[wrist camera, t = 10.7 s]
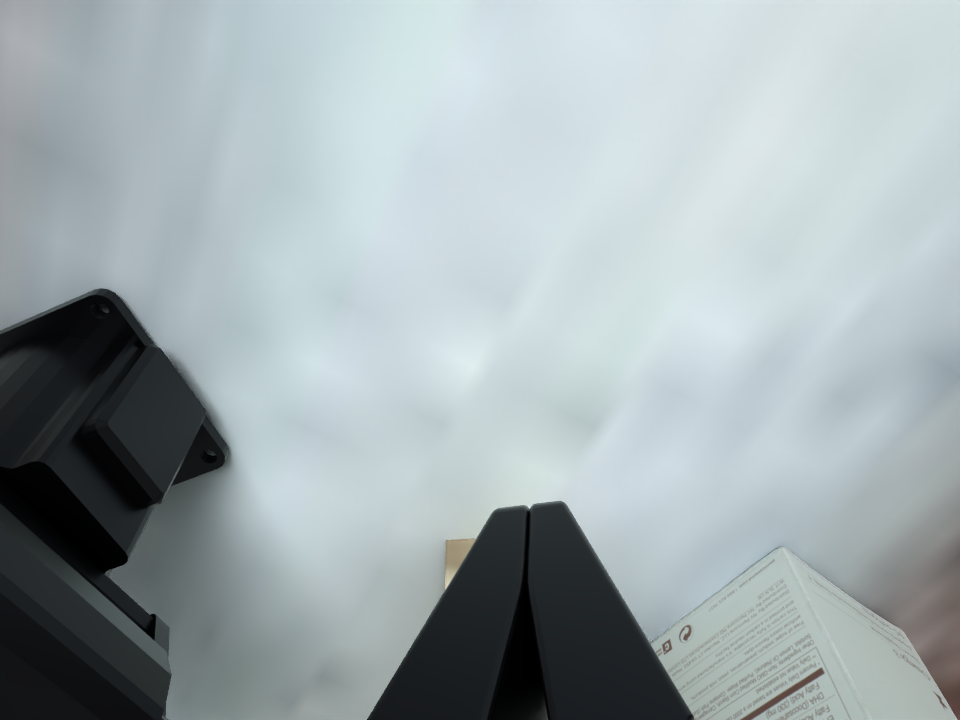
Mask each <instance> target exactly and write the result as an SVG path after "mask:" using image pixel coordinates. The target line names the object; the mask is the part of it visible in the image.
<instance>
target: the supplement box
mask: <svg viewBox="0 0 960 720" xmlns="http://www.w3.org/2000/svg"><path fill="white" fill-rule="evenodd" d="M651 646H652V648H653V649H654V651H655V653H656V654H657V656H658V658H659V659H660V661H661V663H662V664H663V666H664V668H665V669H666V671H667V673H668V674H669V676H670V678H671V679H672V681H673V683H674V684H675V686H676V688H677V689H678V691H679V693H680V694H681V696H682V698H683V699H684V701H685V703H686V704H687V706H688V708H689V709H690V711H691V713H692V714H693V716H694V720H957V718H956V717H955V715H954V713H953V712H952V710H951V708H950V707H949V705H948V703H947V701H946V700H945V698H944V696H943V695H942V693H941V692H940V690H939V688H938V686H937V685H936V683H935V682H934V680H933V678H932V677H931V675H930V673H929V672H928V670H927V668H926V667H925V665H924V663H923V662H922V660H921V659H920V657H919V655H918V654H917V652H916V651H915V649H914V647H913V646H912V644H911V642H910V641H909V639H908V638H907V636H906V634H905V633H904V632H903V631H902V630H901V629H899V628H897V627H896V626H894V625H893V624H891V623H889V622H888V621H886V620H884V619H883V618H881V617H880V616H878V615H877V614H875V613H873V612H872V611H871V610H869V609H868V608H866V607H865V606H863V605H862V604H860V603H859V602H857V601H856V600H854V599H853V598H852V597H850V596H849V595H847V594H846V593H845V592H843V591H842V590H840V589H839V588H838V587H836V586H835V585H834V584H832V583H831V582H830V581H828V580H827V579H825V578H824V577H823V576H821V575H820V574H819V573H817V572H816V571H815V570H813V569H812V568H811V567H809V566H808V565H807V564H805V563H804V562H803V561H801V560H800V559H799V558H798V557H796V556H795V555H794V554H793V553H791V552H790V551H789V550H788V549H787V548H785V547H780V548H777V549H775V550H774V551H772V552H771V553H770V554H768V555H767V556H766V557H764V558H763V559H761V560H760V561H758V562H757V563H756V564H754V565H753V566H752V567H750V568H749V569H748V570H747V571H745V572H744V573H743V574H741V575H740V576H739V577H737V578H736V579H734V580H733V581H732V582H731V583H729V584H728V585H727V586H725V587H724V588H723V589H721V590H720V591H719V592H718V593H716V594H714V595H713V596H712V597H711V598H709V599H708V600H707V601H705V602H704V603H703V604H701V605H700V606H699V607H697V608H696V609H695V610H694V611H692V612H691V613H690V614H688V615H687V616H685V617H684V618H683V619H682V620H680V621H679V622H678V623H676V624H675V625H674V626H673V627H671V628H670V629H669V630H667V631H666V632H665V633H664V634H662V635H661V636H660V637H658V638H657V639H656V640H654V641H653V642H652V643H651Z"/></svg>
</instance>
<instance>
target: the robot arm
mask: <svg viewBox="0 0 960 720" xmlns="http://www.w3.org/2000/svg"><path fill="white" fill-rule="evenodd" d="M96 303H102V304H104V305H105V306H106V307H108V310H109V313H105V312H102V311H101V310H100V309H98V307H97V305H96ZM205 413H206V412H205V409H204V408H203V406H202V405H201V404H200V402H199V401H198V400H197V398H196V397H195V395H194V394H193V393H192V391H191V390H190V388H189V387H188V386H187V384H186V383H185V382H184V380H183V379H182V377H181V376H180V375H179V373H178V372H177V370H176V369H175V368H174V366H173V365H172V364H171V362H170V361H169V359H168V358H167V357H166V355H165V354H164V353H163V351H162V350H161V349H160V348H158V347H157V346H155V345H154V344H153V343H152V341H151V340H150V338H149V337H148V336H147V334H146V333H145V332H144V330H143V329H142V327H141V326H140V325H139V323H138V322H137V321H136V319H135V318H134V316H133V315H132V314H131V312H130V311H129V309H128V308H127V307H126V305H125V304H124V303H123V301H122V300H121V298H120V297H119V296H118V295H117V294H116V293H114V292H112V291H110V290H108V289H96V290H93V291H91V292H88V293H86V294H84V295H81V296H79V297H77V298H74V299H72V300H70V301H68V302H65V303H63V304H61V305H58V306H56V307H54V308H51V309H49V310H47V311H45V312H42V313H40V314H38V315H35V316H33V317H31V318H28V319H26V320H24V321H22V322H19V323H17V324H15V325H12V326H10V327H8V328H5V329H3V330H1V331H0V720H168V719H167V718H166V700H167V695H168V690H169V685H170V679H171V671H170V666H169V661H168V650H169V626H168V625H167V624H166V623H164V622H163V621H162V620H161V619H160V618H159V617H158V616H157V615H156V614H151V615H149V614H148V613H147V612H146V611H145V610H144V609H143V608H142V607H140V606H139V605H138V604H137V603H136V602H135V601H134V600H133V599H132V598H131V597H129V596H128V595H127V594H126V593H125V592H124V591H123V590H122V589H121V588H120V587H118V586H117V585H116V584H115V583H114V582H113V581H112V580H111V579H110V578H109V577H108V576H109V574H110V572H111V570H112V569H113V568H116V567H119V566H122V565H124V564H125V563H127V561H128V559H129V557H130V556H131V554H132V552H133V550H134V548H135V546H136V544H137V542H138V540H139V538H140V536H141V534H142V532H143V530H144V528H145V526H146V524H147V522H148V520H149V518H150V516H151V514H152V512H153V510H154V508H155V506H156V505H158V504H161V503H162V502H163V501H164V499H165V497H166V495H167V493H168V491H169V489H170V487H171V486H172V485H175V484H178V483H180V482H183V481H186V480H188V479H191V478H194V477H196V476H199V475H202V474H204V473H207V472H210V471H212V470H215V469H218V468H219V467H221V466H222V465H223V464H224V462H225V460H226V458H227V455H228V447H227V445H226V443H225V442H224V440H223V439H222V438H221V436H220V435H219V433H218V432H217V431H216V429H215V428H214V427H213V425H212V424H211V422H210V421H209V420H208V418H207V417H206V416H205ZM205 450H210V451H213V452H214V453H215V454H216V455H214V456H212V455H209V454H207V453H206V452H205ZM367 720H694V716H693V714H692V713H691V711H690V709H689V708H688V706H687V704H686V703H685V701H684V699H683V698H682V696H681V694H680V693H679V691H678V689H677V688H676V686H675V684H674V683H673V681H672V679H671V678H670V676H669V674H668V673H667V671H666V669H665V668H664V666H663V664H662V663H661V661H660V659H659V658H658V656H657V654H656V653H655V651H654V649H653V648H652V646H651V644H650V643H649V641H648V639H647V638H646V636H645V634H644V633H643V631H642V629H641V628H640V626H639V624H638V623H637V621H636V619H635V618H634V616H633V614H632V613H631V611H630V609H629V608H628V606H627V604H626V603H625V601H624V599H623V598H622V596H621V594H620V593H619V591H618V589H617V588H616V586H615V584H614V583H613V581H612V579H611V578H610V576H609V574H608V573H607V571H606V569H605V568H604V566H603V564H602V563H601V561H600V559H599V558H598V556H597V554H596V553H595V551H594V549H593V548H592V546H591V544H590V543H589V541H588V539H587V538H586V536H585V534H584V533H583V531H582V530H581V528H580V526H579V525H578V523H577V521H576V520H575V518H574V516H573V515H572V513H571V511H570V510H569V508H568V506H567V505H566V504H565V503H564V502H562V501H555V502H547V503H538V504H534V505H532V506H531V508H530V509H529V508H528V507H527V506H524V505H521V506H513V507H505V508H498V509H496V510H494V511H493V512H492V514H491V515H490V517H489V519H488V520H487V522H486V524H485V525H484V527H483V529H482V530H481V532H480V534H479V535H478V537H477V539H476V540H475V542H474V544H473V545H472V547H471V549H470V550H469V552H468V554H467V555H466V557H465V558H464V560H463V562H462V563H461V565H460V567H459V568H458V570H457V572H456V573H455V575H454V577H453V578H452V580H451V582H450V583H449V585H448V587H447V588H446V590H445V592H444V593H443V595H442V597H441V598H440V600H439V602H438V603H437V605H436V606H435V608H434V610H433V611H432V613H431V615H430V616H429V618H428V620H427V621H426V623H425V625H424V626H423V628H422V630H421V631H420V633H419V635H418V636H417V638H416V640H415V641H414V643H413V645H412V646H411V648H410V650H409V651H408V653H407V655H406V656H405V658H404V659H403V661H402V663H401V664H400V666H399V668H398V669H397V671H396V673H395V674H394V676H393V678H392V679H391V681H390V683H389V684H388V686H387V688H386V689H385V691H384V693H383V694H382V696H381V698H380V699H379V701H378V703H377V704H376V706H375V707H374V709H373V711H372V712H371V714H370V716H369V717H368V719H367Z"/></svg>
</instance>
